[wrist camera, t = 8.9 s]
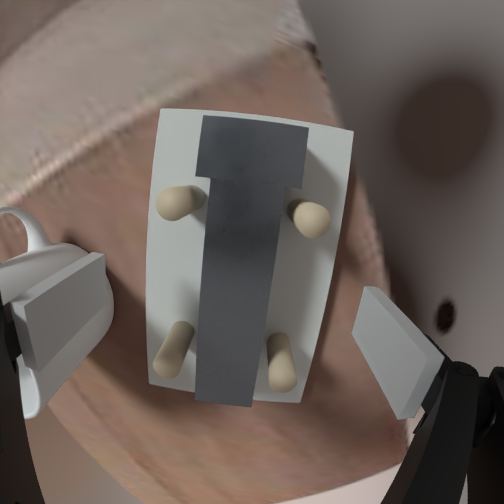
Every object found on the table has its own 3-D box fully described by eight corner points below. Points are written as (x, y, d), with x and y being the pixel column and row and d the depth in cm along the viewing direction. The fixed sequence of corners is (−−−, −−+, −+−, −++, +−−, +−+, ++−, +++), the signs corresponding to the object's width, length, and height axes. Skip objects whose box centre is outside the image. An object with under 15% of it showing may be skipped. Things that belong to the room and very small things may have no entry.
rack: (166, 112, 18) (134, 89, 12) (347, 134, 18) (381, 118, 12) (153, 375, 22) (131, 421, 17) (298, 393, 23) (307, 443, 17)
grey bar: (214, 128, 17) (203, 115, 13) (297, 138, 17) (309, 127, 13) (193, 363, 21) (182, 398, 17) (262, 372, 21) (263, 408, 17)
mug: (89, 183, 19) (-23, 195, 8) (132, 336, 22) (67, 428, 11) (15, 212, 19) (-80, 238, 9) (55, 341, 22) (-13, 409, 12)
